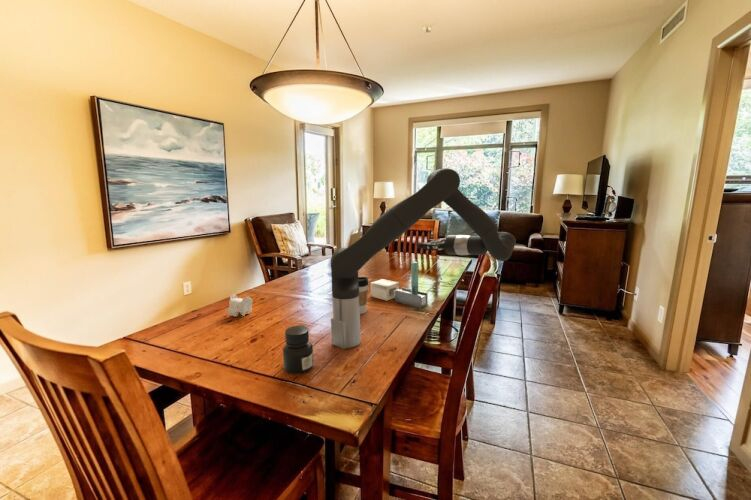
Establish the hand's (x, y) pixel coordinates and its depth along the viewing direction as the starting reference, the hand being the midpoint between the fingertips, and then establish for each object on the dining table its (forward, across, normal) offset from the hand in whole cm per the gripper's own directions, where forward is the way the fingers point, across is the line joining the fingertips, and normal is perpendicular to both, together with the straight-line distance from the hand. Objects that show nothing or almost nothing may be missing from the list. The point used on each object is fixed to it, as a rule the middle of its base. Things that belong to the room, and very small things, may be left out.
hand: (422, 243), depth 140 cm
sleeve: (+13, -7, +30) cm, 33 cm away
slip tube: (+14, -7, +28) cm, 32 cm away
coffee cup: (+25, +15, +28) cm, 41 cm away
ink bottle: (+8, +61, +28) cm, 68 cm away
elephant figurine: (+64, +49, +25) cm, 84 cm away
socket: (+29, -8, +29) cm, 41 cm away
